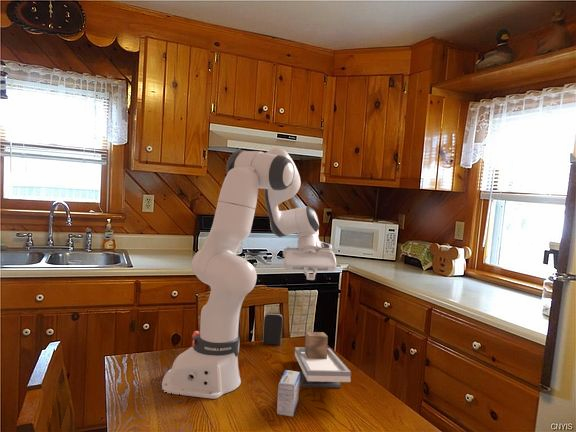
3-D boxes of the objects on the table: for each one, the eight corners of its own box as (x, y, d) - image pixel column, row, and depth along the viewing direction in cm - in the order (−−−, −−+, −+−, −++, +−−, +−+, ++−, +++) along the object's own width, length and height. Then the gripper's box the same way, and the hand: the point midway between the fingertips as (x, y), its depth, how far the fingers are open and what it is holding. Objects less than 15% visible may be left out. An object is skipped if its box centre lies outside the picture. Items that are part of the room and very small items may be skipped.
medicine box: (293, 417, 104) (295, 385, 103) (276, 414, 105) (278, 382, 104) (298, 401, 112) (300, 371, 111) (282, 398, 112) (284, 369, 112)
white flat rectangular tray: (307, 381, 109) (307, 370, 110) (294, 355, 137) (295, 347, 137) (350, 382, 111) (350, 371, 111) (329, 356, 138) (329, 348, 138)
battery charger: (281, 341, 153) (283, 312, 152) (281, 345, 149) (283, 315, 148) (262, 340, 152) (264, 310, 151) (262, 344, 149) (264, 314, 148)
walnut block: (308, 358, 128) (309, 335, 128) (305, 353, 135) (306, 331, 135) (326, 359, 128) (327, 336, 129) (322, 353, 135) (323, 332, 136)
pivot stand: (301, 387, 120) (301, 374, 119) (297, 374, 128) (298, 362, 127) (340, 387, 121) (341, 375, 120) (335, 374, 129) (336, 363, 128)
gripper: (283, 242, 156) (284, 273, 147) (335, 245, 158) (339, 275, 149) (281, 251, 160) (282, 282, 152) (332, 254, 162) (335, 284, 154)
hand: (310, 279), depth 150 cm, fingers closed
